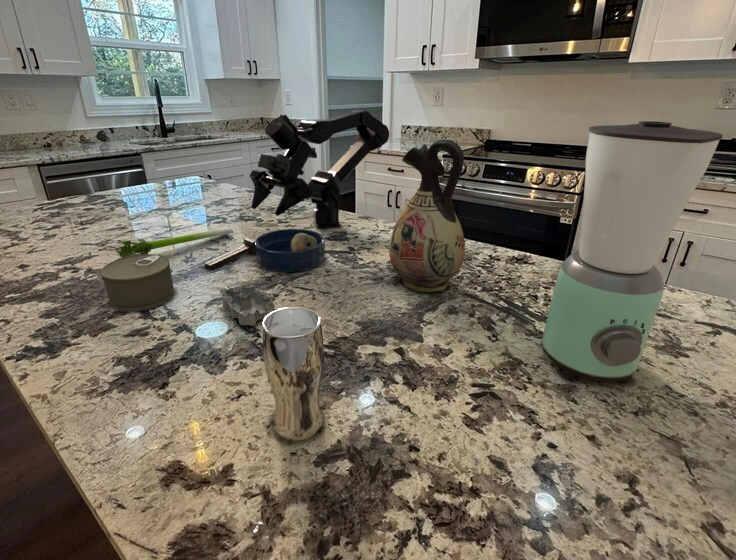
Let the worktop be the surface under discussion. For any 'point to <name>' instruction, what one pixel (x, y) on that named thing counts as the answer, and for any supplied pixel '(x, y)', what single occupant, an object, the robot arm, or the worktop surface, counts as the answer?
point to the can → (138, 282)
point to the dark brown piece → (232, 254)
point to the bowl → (288, 251)
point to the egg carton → (247, 303)
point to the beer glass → (294, 369)
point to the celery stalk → (165, 242)
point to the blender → (622, 245)
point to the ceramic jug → (429, 223)
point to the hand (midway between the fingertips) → (264, 211)
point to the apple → (302, 242)
